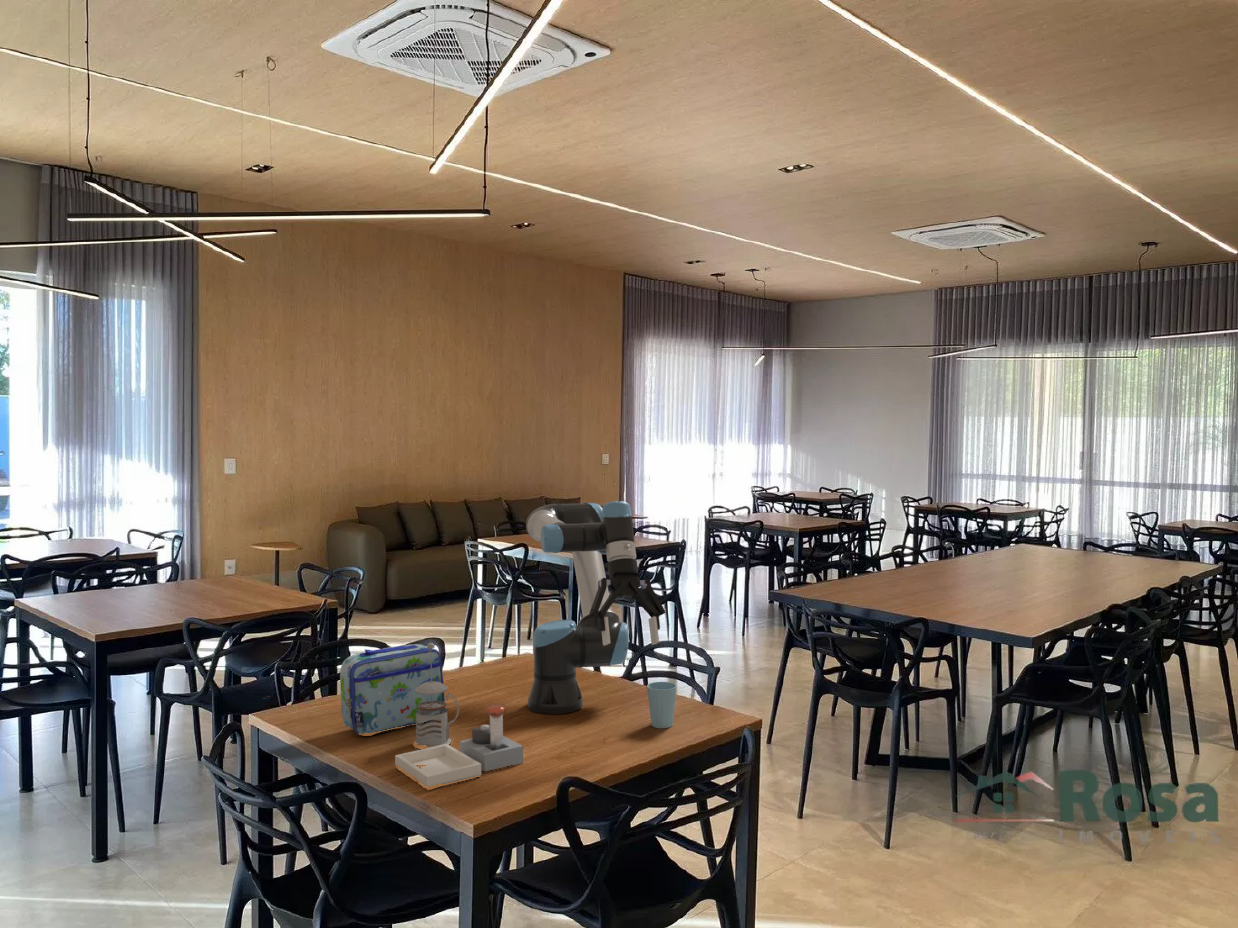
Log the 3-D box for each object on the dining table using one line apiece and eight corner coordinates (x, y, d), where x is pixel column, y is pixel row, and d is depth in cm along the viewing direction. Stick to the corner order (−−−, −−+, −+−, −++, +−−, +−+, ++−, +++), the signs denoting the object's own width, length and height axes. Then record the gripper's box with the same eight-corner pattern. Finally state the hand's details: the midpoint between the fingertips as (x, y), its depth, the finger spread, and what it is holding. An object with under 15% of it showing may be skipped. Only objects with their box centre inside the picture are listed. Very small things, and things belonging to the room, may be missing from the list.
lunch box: (352, 742, 238) (350, 658, 237) (337, 731, 247) (335, 650, 246) (448, 722, 254) (446, 643, 253) (430, 712, 262) (429, 636, 261)
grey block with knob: (460, 757, 226) (459, 726, 226) (497, 749, 232) (497, 718, 232) (484, 772, 217) (484, 740, 216) (523, 762, 223) (522, 731, 222)
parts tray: (395, 768, 220) (395, 755, 220) (446, 756, 228) (446, 743, 227) (427, 790, 206) (427, 776, 206) (481, 777, 214) (481, 763, 214)
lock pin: (485, 762, 223) (484, 706, 222) (500, 759, 225) (499, 703, 225) (493, 767, 220) (492, 710, 219) (508, 763, 222) (507, 707, 222)
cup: (682, 727, 248) (681, 687, 247) (655, 731, 245) (655, 690, 244) (668, 719, 255) (668, 680, 254) (642, 723, 252) (642, 683, 251)
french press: (417, 737, 242) (415, 638, 241) (463, 737, 242) (461, 638, 240) (407, 750, 232) (405, 647, 231) (455, 750, 232) (453, 647, 231)
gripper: (583, 555, 236) (592, 641, 229) (671, 558, 248) (682, 639, 240) (571, 564, 243) (579, 647, 235) (657, 565, 254) (667, 646, 246)
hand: (631, 644), depth 238 cm, fingers open, 13 cm apart
